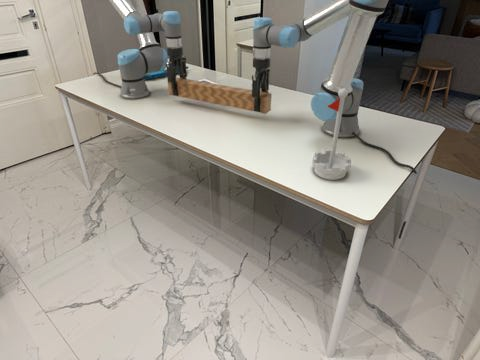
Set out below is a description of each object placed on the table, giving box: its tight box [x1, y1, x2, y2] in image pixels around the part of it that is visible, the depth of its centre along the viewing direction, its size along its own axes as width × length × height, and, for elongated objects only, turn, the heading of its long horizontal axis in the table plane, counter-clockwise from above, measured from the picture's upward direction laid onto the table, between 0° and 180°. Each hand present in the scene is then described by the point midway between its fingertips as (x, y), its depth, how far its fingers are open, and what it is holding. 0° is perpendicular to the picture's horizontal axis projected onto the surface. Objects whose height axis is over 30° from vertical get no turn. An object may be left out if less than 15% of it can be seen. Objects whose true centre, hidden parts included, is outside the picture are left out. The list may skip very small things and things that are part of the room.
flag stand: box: [312, 88, 352, 181], centre depth 113 cm, size 13×13×30 cm
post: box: [167, 76, 272, 115], centre depth 166 cm, size 56×6×8 cm, turn 61°
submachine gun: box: [143, 66, 189, 81], centre depth 225 cm, size 34×4×25 cm
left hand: (179, 93), depth 177 cm, fingers closed on post, 5 cm apart
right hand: (259, 109), depth 158 cm, fingers closed on post, 5 cm apart
